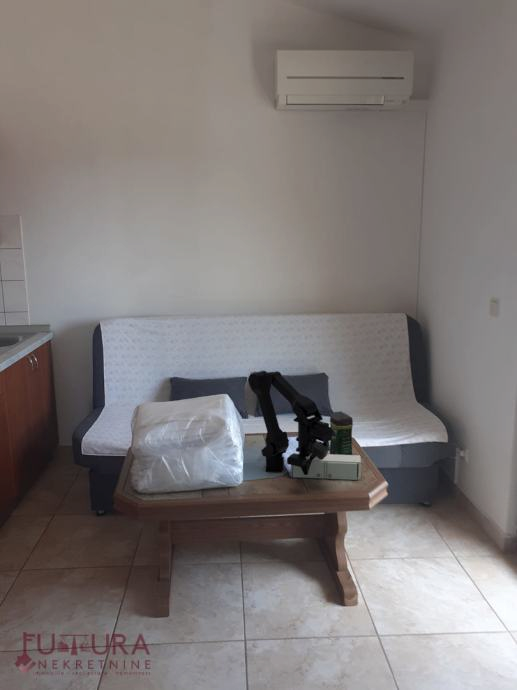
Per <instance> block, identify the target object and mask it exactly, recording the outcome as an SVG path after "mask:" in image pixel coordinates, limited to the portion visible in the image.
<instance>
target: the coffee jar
mask: <svg viewBox="0 0 517 690" xmlns="http://www.w3.org/2000/svg"><path fill="white" fill-rule="evenodd" d="M353 424H354V421H353V417H352V416H350V415H349V414H347V413H345V412H343V411H335V412H334V411H333V412H332V413H331V414H330V418H329V427H331V428H332V431H333V435H332V438H331V440H330V441H329V447H330V451H329V454H334V455H353V441H352V439H353V436H352V435H353Z"/></svg>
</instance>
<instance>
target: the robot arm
mask: <svg viewBox="0 0 517 690" xmlns="http://www.w3.org/2000/svg"><path fill="white" fill-rule="evenodd" d="M247 381H248V385H249V387H250V389H251V391H252V393H254V394H255V395H256V396H257V399H258V403H259V407H260V410H261V413H262V414H261V415H262V418H263V421H264V425H265V429H266V437H265V446H264V447H263V448H261V454H262V456H263V457H265V469H264V471H265V472H267V473H283V470H284V468H285V457H284V456H283V454H286V453H287V450H288V448H289V446H290V444H289V442H290V439H289V438H288V433H287V431H283V430H282V429H281V428H280V425H279V420H278V418H277V413H276V411H275V407H274V404H273V401H272V400H273V399H272V395H271V389H272V387H274V388H275V390H277V391H278V393H280V395H281V396H282V397H283V398H284V399H286V401H287V402H288V403H289V404H290V407H291V410H292V411H293V413H294V415H295V416H296V417H295V418H294V419H293V421H294V422H296V423H297V437H296V438H295V442H297V443H298V445H297V447H296V449H295V452H292V453H293V454H292V453H291V455H289V456H288V457H287V458H286V464H287V465H290V466H291V465H294V466H298V467H301V469H302V471H303V473H304V475H307V474H308V472H309V468H310V465H311V462H312V460H313V459H314V458H315V457H318V458H319V459H321V460H322V459H324V458H325V457H326V456H327V454H328V453H329V452H330V440H331V438H332V435H333V431H332V428H331V426H330V422H326V421H325V422H324V421H323V416H322V414H321V412H320V411H319V408H318V407H317V404H316V402H315V401H313V399H310V398H309V397H308V396H305V395H303V394H301V393H300V392H298V390H296V389H295V388H294V386H293V385H291V384H290V383H289V381H287V379H286V378H284V376H282V373H281V372H280V371H277V370H275V371H270V372H269V371H265V370H260V371H256V372H253V373H251V374H249V376H248V378H247ZM312 416H313V417H312ZM295 453H299V454H295Z"/></svg>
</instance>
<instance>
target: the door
mask: <svg viewBox="0 0 517 690" xmlns="http://www.w3.org/2000/svg"><path fill="white" fill-rule="evenodd" d="M291 478H292V479H294V478H305V479H307V478H308V479H325V478H324V462H320V461H312V462H311V465H310V468H309V472H308V474H307V475H304V473H303V471H302V469H301V467H298V466H294V465H290V479H291Z"/></svg>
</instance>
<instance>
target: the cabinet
mask: <svg viewBox="0 0 517 690" xmlns="http://www.w3.org/2000/svg"><path fill="white" fill-rule="evenodd" d="M293 453H295V454H299V452H292V453H291V455H292V454H293ZM361 459H362V458H361V455H359V454H358V455H355V454H352V455H334V454H330V453H329V454H328V453H327V456H326V457H325V458H324V459H322V460H321V459H319V458H318V457H315V458H314V459H313V460H312V461H320V462H324V478H323V479H330V480H351V481H357V480H361V477H362V476H361V473H362V471H361V469H362V467H361V465H362V462H361V461H362V460H361Z"/></svg>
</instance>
